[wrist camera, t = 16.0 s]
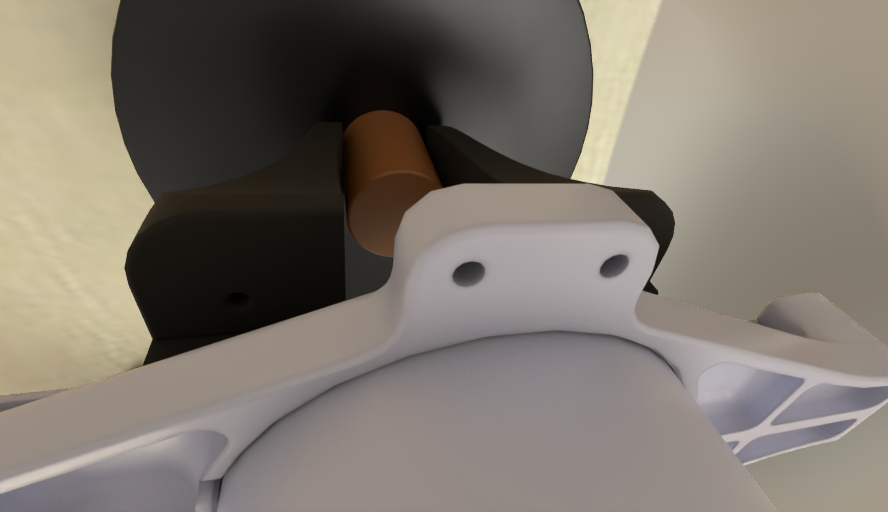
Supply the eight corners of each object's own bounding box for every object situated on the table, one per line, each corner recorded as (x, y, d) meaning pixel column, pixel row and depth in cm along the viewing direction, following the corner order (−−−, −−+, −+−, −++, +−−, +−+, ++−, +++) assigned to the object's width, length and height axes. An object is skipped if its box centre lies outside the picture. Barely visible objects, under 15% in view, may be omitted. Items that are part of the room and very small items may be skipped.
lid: (521, 278, 19) (569, 365, 16) (194, 297, 16) (158, 413, 12) (642, -104, 11) (798, -105, 7) (24, -225, 8) (-229, -331, 4)
